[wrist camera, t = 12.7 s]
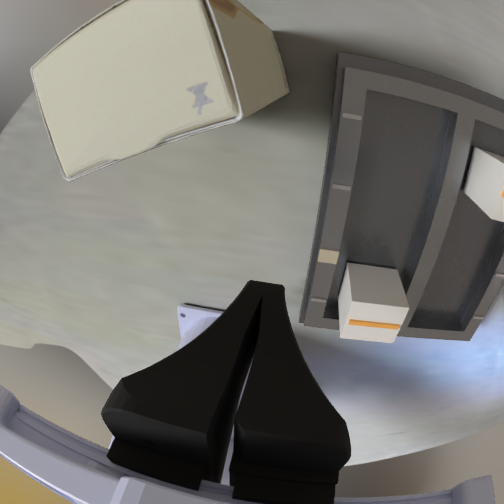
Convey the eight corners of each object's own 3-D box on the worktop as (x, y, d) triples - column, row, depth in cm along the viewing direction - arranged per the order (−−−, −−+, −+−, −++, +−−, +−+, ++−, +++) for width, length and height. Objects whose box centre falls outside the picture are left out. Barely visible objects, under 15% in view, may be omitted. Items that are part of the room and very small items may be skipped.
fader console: (460, 329, 23) (467, 349, 21) (299, 312, 25) (297, 334, 23) (536, 118, 13) (557, 125, 11) (337, 53, 15) (341, 49, 13)
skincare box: (272, 28, 15) (208, -44, 5) (291, 94, 17) (260, 119, 7) (172, 59, 17) (21, 67, 6) (192, 121, 19) (61, 187, 8)
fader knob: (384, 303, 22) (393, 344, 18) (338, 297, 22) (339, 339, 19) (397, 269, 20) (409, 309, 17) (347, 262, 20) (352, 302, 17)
